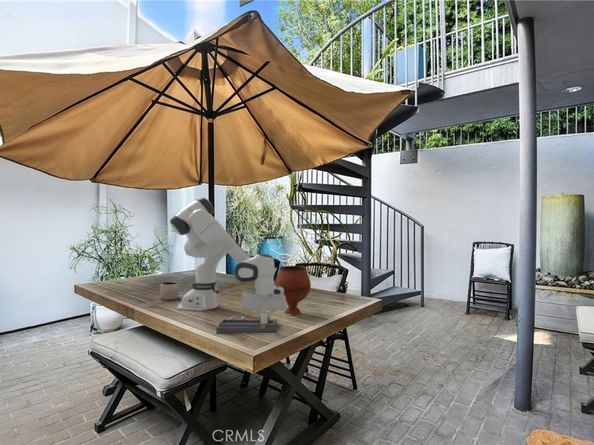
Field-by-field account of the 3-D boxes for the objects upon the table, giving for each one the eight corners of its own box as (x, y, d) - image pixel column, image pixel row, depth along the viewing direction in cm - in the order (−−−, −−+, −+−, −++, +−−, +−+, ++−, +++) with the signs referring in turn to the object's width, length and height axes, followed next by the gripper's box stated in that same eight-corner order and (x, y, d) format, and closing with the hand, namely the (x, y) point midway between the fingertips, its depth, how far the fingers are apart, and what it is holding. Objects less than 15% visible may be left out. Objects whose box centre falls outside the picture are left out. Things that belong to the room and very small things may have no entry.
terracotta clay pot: (267, 313, 181) (267, 266, 181) (292, 307, 195) (293, 263, 194) (291, 320, 167) (292, 270, 167) (317, 313, 181) (318, 267, 181)
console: (216, 333, 147) (216, 324, 147) (222, 324, 160) (222, 315, 160) (275, 334, 147) (275, 324, 147) (277, 324, 160) (277, 316, 160)
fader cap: (260, 324, 152) (260, 313, 152) (261, 321, 156) (261, 310, 156) (267, 324, 152) (267, 313, 152) (267, 321, 156) (268, 310, 156)
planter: (156, 299, 209) (156, 284, 209) (168, 295, 220) (168, 281, 220) (171, 300, 206) (171, 285, 206) (182, 297, 216) (182, 282, 216)
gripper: (240, 290, 151) (240, 321, 151) (286, 290, 151) (286, 321, 151) (243, 287, 157) (242, 317, 157) (286, 288, 157) (286, 317, 157)
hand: (264, 319), depth 154 cm, fingers closed on fader cap, 3 cm apart
